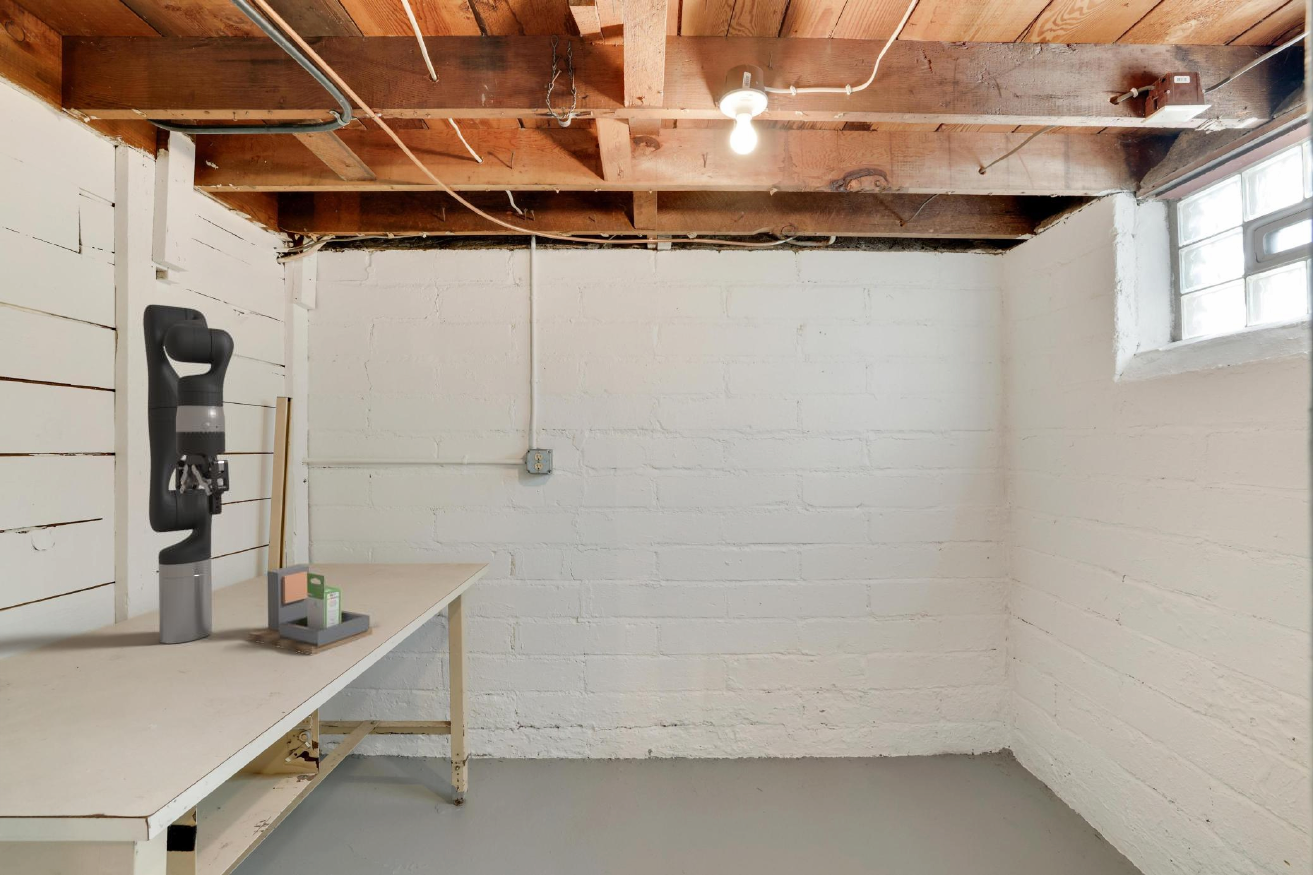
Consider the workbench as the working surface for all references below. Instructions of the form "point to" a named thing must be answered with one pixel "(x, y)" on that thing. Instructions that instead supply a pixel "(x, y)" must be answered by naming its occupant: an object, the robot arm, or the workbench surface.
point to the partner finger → (287, 595)
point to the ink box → (322, 603)
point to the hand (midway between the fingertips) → (202, 513)
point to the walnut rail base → (274, 639)
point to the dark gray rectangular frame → (315, 637)
